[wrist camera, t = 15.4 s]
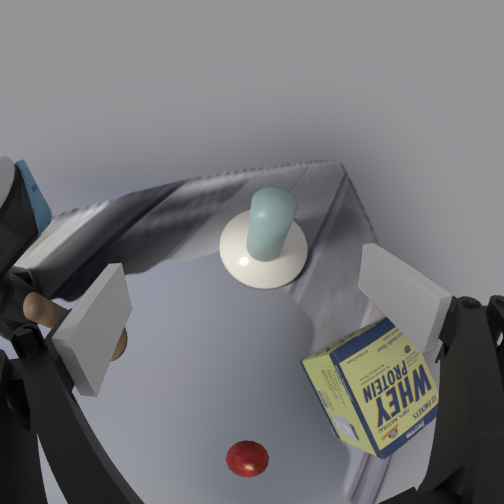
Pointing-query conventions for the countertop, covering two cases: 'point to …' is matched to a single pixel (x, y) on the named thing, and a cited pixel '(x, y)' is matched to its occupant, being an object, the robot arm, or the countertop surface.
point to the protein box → (374, 388)
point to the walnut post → (58, 317)
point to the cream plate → (257, 271)
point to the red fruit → (247, 458)
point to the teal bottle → (269, 222)
